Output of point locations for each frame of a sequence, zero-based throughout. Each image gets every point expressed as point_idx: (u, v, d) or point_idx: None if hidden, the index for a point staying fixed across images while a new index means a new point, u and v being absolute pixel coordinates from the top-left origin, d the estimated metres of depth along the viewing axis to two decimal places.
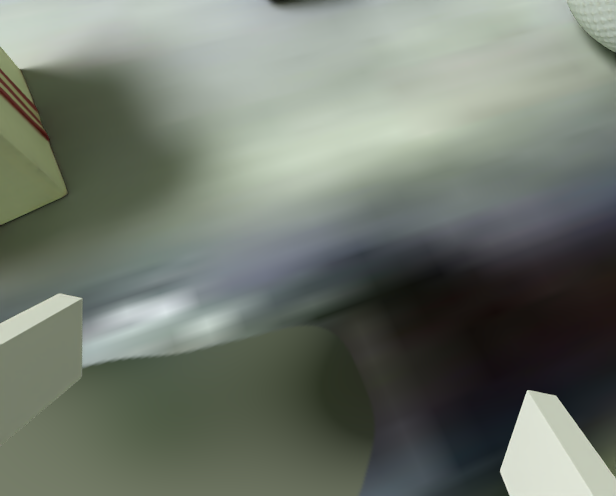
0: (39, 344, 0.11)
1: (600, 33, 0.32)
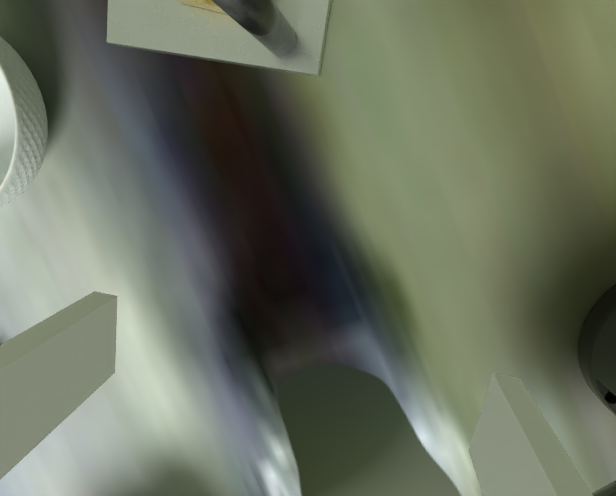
0: (80, 340, 0.12)
1: (24, 189, 0.38)
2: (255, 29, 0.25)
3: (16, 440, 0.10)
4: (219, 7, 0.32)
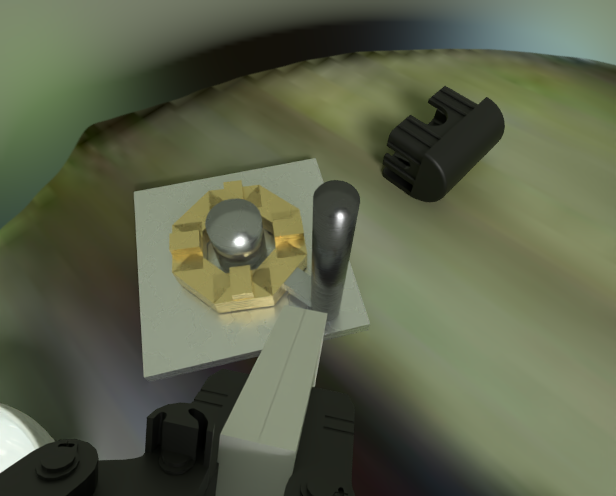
0: None
1: None
2: (340, 271, 0.27)
3: None
4: (265, 297, 0.33)
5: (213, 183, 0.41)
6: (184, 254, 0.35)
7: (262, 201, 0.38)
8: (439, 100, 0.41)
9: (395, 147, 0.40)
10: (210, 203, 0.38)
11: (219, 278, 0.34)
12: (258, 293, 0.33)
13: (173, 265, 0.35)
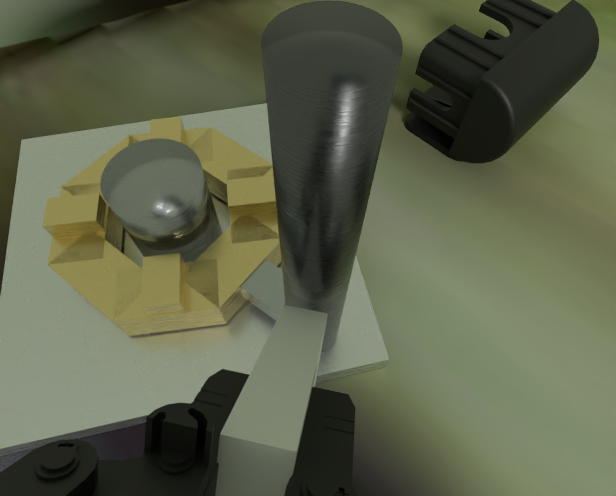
0: None
1: None
2: (340, 265, 0.12)
3: None
4: (206, 311, 0.19)
5: (146, 130, 0.27)
6: (73, 235, 0.21)
7: (213, 152, 0.23)
8: (498, 5, 0.26)
9: (430, 73, 0.25)
10: None
11: (129, 275, 0.20)
12: (194, 303, 0.19)
13: (51, 252, 0.20)
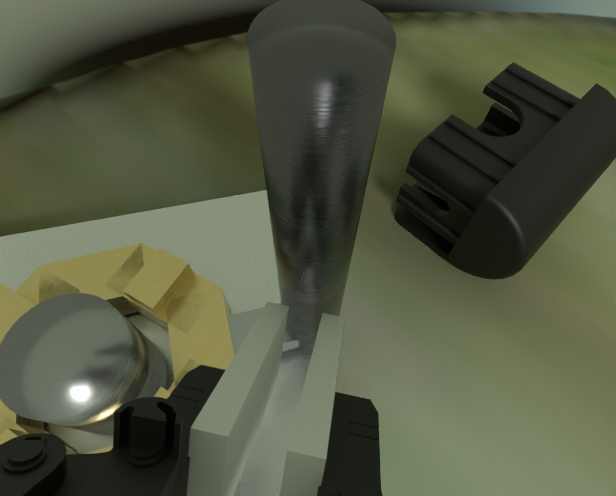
0: (275, 346, 0.13)
1: None
2: None
3: (250, 437, 0.11)
4: None
5: (87, 234, 0.23)
6: None
7: (72, 283, 0.19)
8: (505, 88, 0.22)
9: (423, 175, 0.21)
10: None
11: None
12: None
13: None
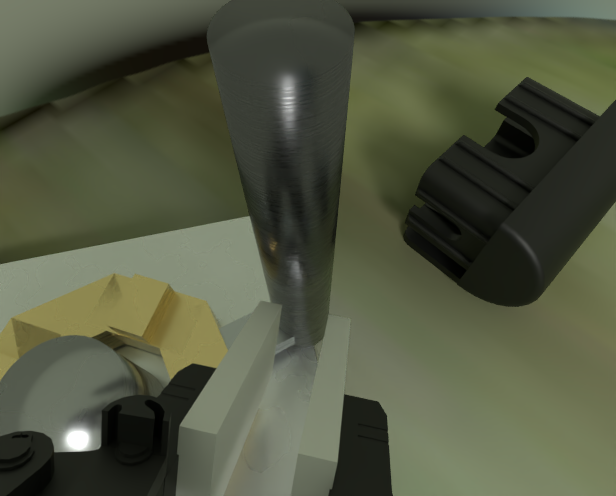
0: (268, 345, 0.13)
1: None
2: None
3: (242, 435, 0.11)
4: None
5: (87, 261, 0.22)
6: None
7: (50, 329, 0.18)
8: (519, 105, 0.21)
9: (434, 200, 0.20)
10: None
11: None
12: None
13: None
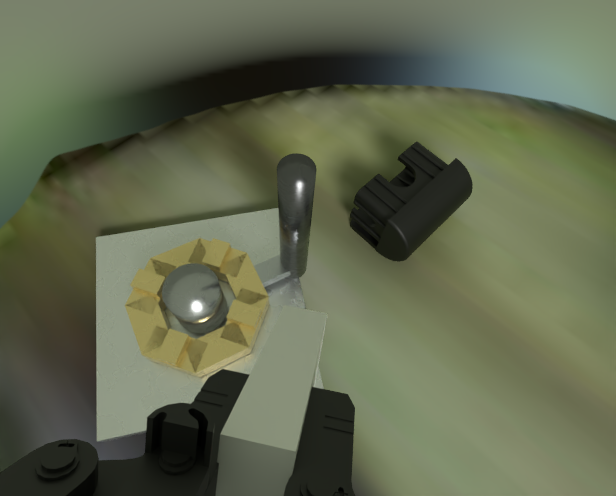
0: None
1: None
2: None
3: None
4: (266, 303, 0.36)
5: (177, 231, 0.41)
6: (182, 355, 0.34)
7: (170, 263, 0.37)
8: (409, 158, 0.40)
9: (361, 206, 0.39)
10: (141, 309, 0.35)
11: (226, 332, 0.35)
12: (260, 306, 0.36)
13: (188, 369, 0.33)
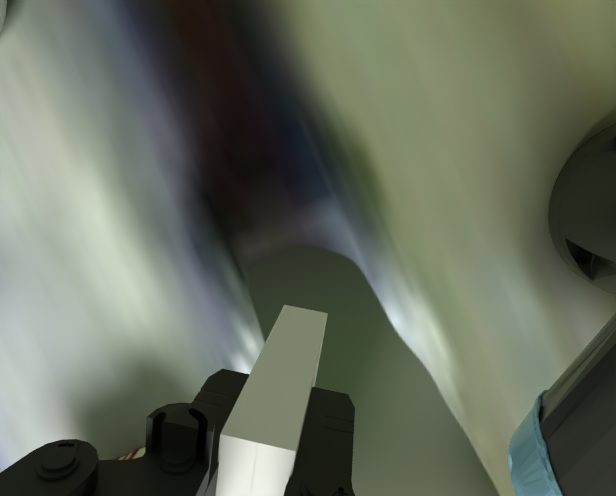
0: None
1: None
2: None
3: None
4: None
5: None
6: None
7: None
8: None
9: None
10: None
11: None
12: None
13: None
